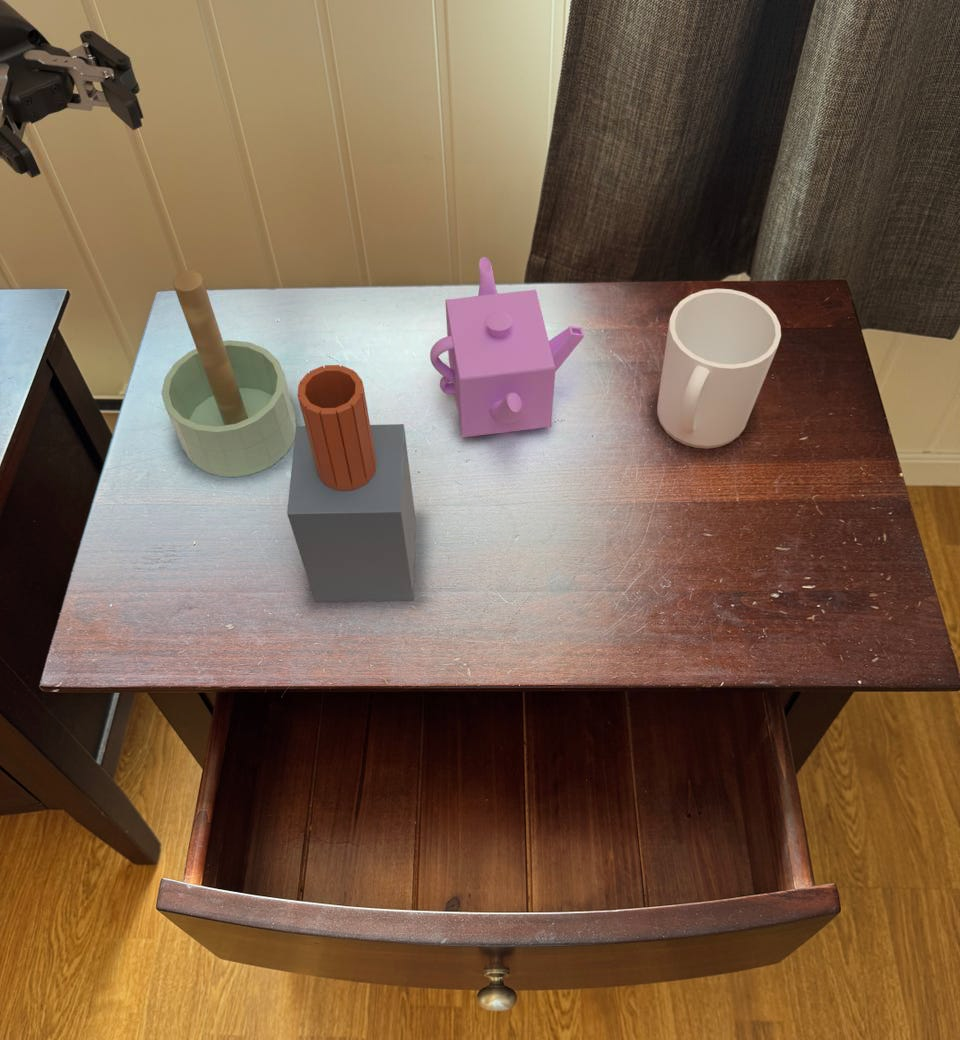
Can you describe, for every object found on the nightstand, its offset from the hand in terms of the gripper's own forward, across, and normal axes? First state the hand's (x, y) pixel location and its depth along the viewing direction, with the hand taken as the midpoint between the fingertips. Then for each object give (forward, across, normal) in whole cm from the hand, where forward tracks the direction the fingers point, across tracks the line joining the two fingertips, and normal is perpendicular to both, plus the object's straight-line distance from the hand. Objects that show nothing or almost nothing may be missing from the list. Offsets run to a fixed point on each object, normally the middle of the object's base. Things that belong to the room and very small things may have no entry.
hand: (84, 140), depth 71 cm
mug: (+37, +32, +23) cm, 54 cm away
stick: (+11, 0, +22) cm, 24 cm away
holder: (+29, 0, +23) cm, 37 cm away
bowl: (+11, 0, +23) cm, 25 cm away
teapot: (+24, +20, +23) cm, 39 cm away
